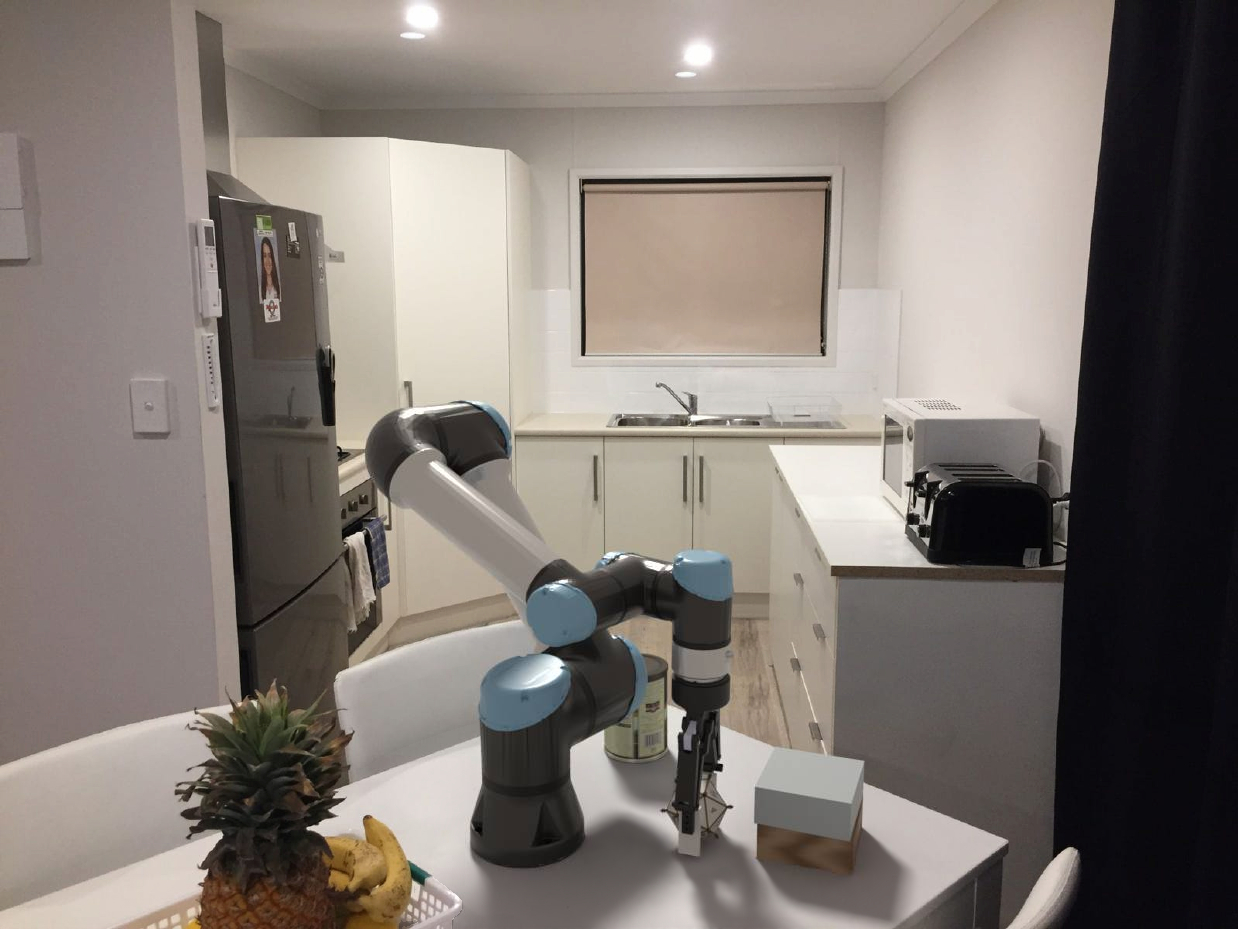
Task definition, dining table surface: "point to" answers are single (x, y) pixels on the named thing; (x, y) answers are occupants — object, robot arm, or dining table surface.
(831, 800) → the tower top
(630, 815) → the dining table surface
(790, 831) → the tower base
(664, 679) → the coffee can
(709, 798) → the game die
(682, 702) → the robot arm
